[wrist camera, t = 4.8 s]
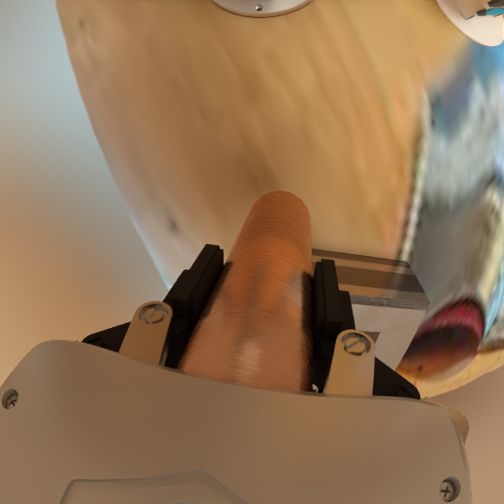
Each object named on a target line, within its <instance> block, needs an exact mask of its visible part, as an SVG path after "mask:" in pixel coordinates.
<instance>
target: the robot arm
mask: <svg viewBox="0 0 504 504" xmlns="http://www.w3.org/2000/svg"><path fill="white" fill-rule="evenodd" d="M212 1H213V2H215V3H216V4H217V5H219V6H220V7H222V8H224V9H225V10H227V11H229V12H233V13H236V14H239V15H244V16H250V17H269V16H277V15H282V14H287V13H289V12H292V11H295V10H298V9H299V8H301V7H303V6H305V5H307V4H308V3H309V2H311V1H312V0H212ZM259 9H262V11H258V10H259ZM223 266H224V251H223V249H220V247H219V245H211V244H206V245H205V247H204V248H203V250H202V251H201V253H200V254H199V256H198V257H197V259H196V260H195V262H194V263H193V265H192V266H191V268H190V269H189V270H184V271H183V272H182V273H181V275H180V276H179V278H178V279H177V281H176V282H175V284H174V285H173V287H172V288H171V290H170V291H169V293H168V294H167V296H166V297H165V299H164V300H163V302H160V301H152V302H148V303H145V304H143V305H141V306H140V307H139V308H138V309H137V310H136V312H135V314H134V316H133V319H132V321H131V322H128V323H125V324H122V325H119V326H116V327H112V328H109V329H106V330H103V331H100V332H97V333H94V334H91V335H89V336H87V337H86V338H84V339H83V341H82V342H78V341H71V340H49V341H45V342H43V343H40V344H38V345H37V346H35V347H34V348H33V349H32V350H31V351H30V352H29V353H28V354H27V355H26V356H25V357H24V358H23V359H22V360H21V361H20V363H19V364H18V365H17V366H16V367H15V368H14V370H13V371H12V372H11V374H10V375H9V376H8V378H7V379H6V380H5V382H4V383H3V385H2V386H1V388H0V504H472V492H471V480H470V471H469V465H468V460H467V455H466V450H465V446H464V445H465V441H466V438H467V435H468V431H469V424H468V420H467V419H466V417H465V416H464V415H462V414H461V413H459V412H457V411H455V410H452V409H451V408H448V407H446V406H444V405H442V404H440V403H438V402H436V401H434V400H432V399H430V398H428V397H425V398H424V399H423V398H421V397H420V394H419V392H418V390H417V388H416V387H415V386H414V385H413V384H411V383H410V382H409V381H407V380H406V379H405V378H403V377H402V376H401V375H399V374H398V373H397V372H395V371H394V370H393V369H391V368H390V367H389V366H387V365H386V364H385V363H383V362H382V361H381V360H379V359H378V358H377V357H375V344H374V342H373V340H372V338H371V337H370V336H369V335H367V334H366V333H364V332H362V331H359V330H356V327H355V321H354V315H353V309H352V304H351V299H350V294H349V291H343V290H339V285H338V279H337V273H336V267H335V261H334V260H331V259H323V258H322V259H321V262H320V261H316V265H315V270H314V275H313V315H314V352H313V384H314V385H315V386H316V387H317V391H316V393H315V392H304V391H295V390H286V389H278V388H270V387H263V386H257V385H250V384H244V383H238V382H233V381H227V380H222V379H217V378H212V377H207V376H203V375H198V374H194V373H189V372H185V371H181V370H177V369H176V367H177V365H178V362H179V360H180V358H181V356H182V354H183V352H184V349H185V347H186V345H187V343H188V341H189V338H190V336H191V334H192V332H193V330H194V328H195V326H196V323H197V321H198V319H199V317H200V315H201V313H202V311H203V308H204V306H205V304H206V302H207V300H208V298H209V296H210V294H211V292H212V289H213V287H214V285H215V283H216V281H217V279H218V277H219V275H220V273H221V271H222V268H223Z"/></svg>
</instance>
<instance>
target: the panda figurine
mask: <svg viewBox="0 0 504 504" xmlns="http://www.w3.org/2000/svg"><path fill="white" fill-rule="evenodd" d="M435 1H436V3H437V4H438V6H439V8H440V9H441V11H442V12H443V13H444V15H445V16H446V17H447V18H448V20H449V21H450V22H451V23H452V24H453V25H454V26H455V27H456V28H457V29H458V30H459V31H460V32H461V33H463V34H464V35H465V36H467V37H468V38H469V39H471V40H473V41H474V42H476V43H478V44H481V45H484V46H490V47H492V46H497V45H499V44H500V43H502V41H503V40H504V19H503V16H502V14H504V0H435Z"/></svg>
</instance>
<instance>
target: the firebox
mask: <svg viewBox="0 0 504 504" xmlns="http://www.w3.org/2000/svg"><path fill="white" fill-rule="evenodd" d="M322 258H323V259H331V260H334V261H335V267H336V273H337V279H338V285H339V290H343V291H349V294H350V299H351V304H352V309H353V315H354V321H355V327H356V330H359V331H362V332H364V333H366V334H367V335H369V336H370V337H371V338H372V340H373V342H374V344H375V357H377V358H378V359H379V360H381V361H382V362H383V363H385V364H386V365H387V366H389V367H390V368H391V369H393V370H394V371H395V369H396V368H397V366H398V364H399V362H400V361H401V359H402V357H403V355H404V354H405V352H406V350H407V348H408V346H409V344H410V343H411V341H412V339H413V337H414V335H415V333H416V331H417V329H418V327H419V325H420V323H421V321H422V319H423V317H424V315H425V312H426V310H427V308H428V306H429V304H430V301H429V299H428V297H427V295H426V294H425V292H424V290H423V288H422V286H421V285H420V283H419V281H418V279H417V278H416V276H415V274H414V273H413V271H412V269H411V268H410V266H409V264H408V263H407V262H404V261H397V260H390V259H383V258H375V257H368V256H361V255H353V254H346V253H338V252H331V251H323V250H315V249H312V271H313V275H314V270H315V265H316V261H320V262H321V259H322ZM313 388H317V387H316V386H315V385H314V384H313Z"/></svg>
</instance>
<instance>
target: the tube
mask: <svg viewBox="0 0 504 504" xmlns="http://www.w3.org/2000/svg"><path fill="white" fill-rule="evenodd" d="M313 352H314V315H313V271H312V247H311V228H310V215H309V211H308V209H307V207H306V205H305V204H304V202H303V201H302V200H301V199H300V198H298V197H297V196H295V195H294V194H291V193H289V192H284V191H274V192H270V193H267V194H265V195H263V196H261V197H260V198H259V199H258V200H257V201H256V202H255V204H254V205H253V207H252V209H251V211H250V213H249V215H248V217H247V219H246V221H245V223H244V225H243V227H242V229H241V231H240V233H239V235H238V237H237V240H236V242H235V244H234V246H233V248H232V250H231V252H230V254H229V256H228V258H227V260H226V262H225V264H224V266H223V268H222V271H221V273H220V275H219V277H218V279H217V281H216V283H215V285H214V287H213V289H212V292H211V294H210V296H209V298H208V300H207V302H206V304H205V306H204V308H203V311H202V313H201V315H200V317H199V319H198V321H197V323H196V326H195V328H194V330H193V332H192V334H191V336H190V338H189V341H188V343H187V345H186V347H185V349H184V352H183V354H182V356H181V358H180V360H179V362H178V365H177V367H176V369H177V370H181V371H185V372H189V373H194V374H198V375H203V376H207V377H212V378H217V379H222V380H227V381H233V382H238V383H244V384H250V385H257V386H263V387H270V388H278V389H286V390H295V391H304V392H313Z"/></svg>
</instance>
